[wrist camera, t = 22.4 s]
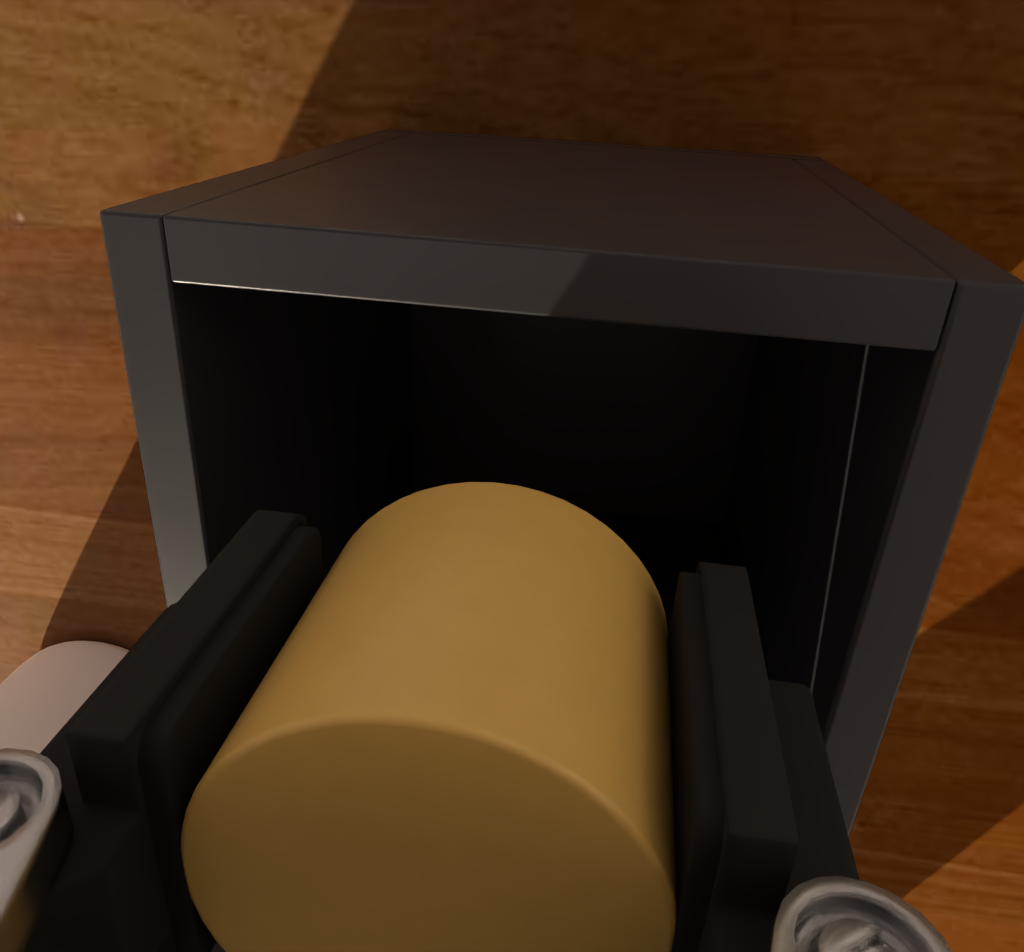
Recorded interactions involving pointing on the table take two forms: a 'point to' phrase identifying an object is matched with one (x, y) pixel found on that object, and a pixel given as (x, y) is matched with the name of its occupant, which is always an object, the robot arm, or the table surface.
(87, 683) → the mug
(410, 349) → the dark grey storage bin
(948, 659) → the table surface
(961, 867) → the table surface
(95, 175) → the table surface
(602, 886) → the cylinder
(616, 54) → the table surface
